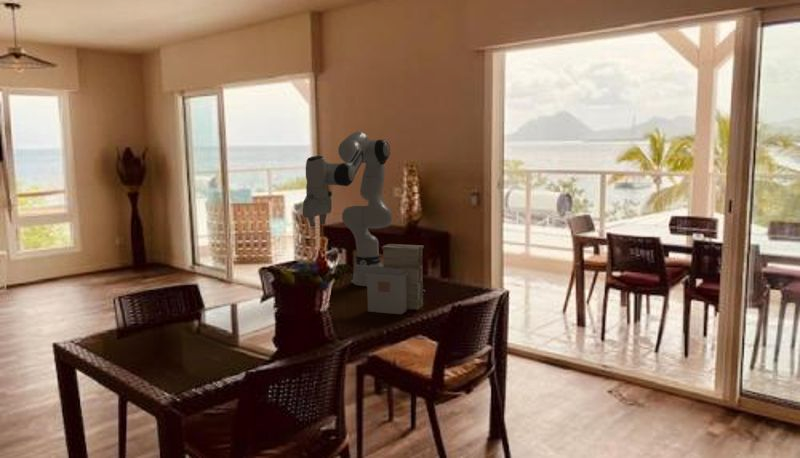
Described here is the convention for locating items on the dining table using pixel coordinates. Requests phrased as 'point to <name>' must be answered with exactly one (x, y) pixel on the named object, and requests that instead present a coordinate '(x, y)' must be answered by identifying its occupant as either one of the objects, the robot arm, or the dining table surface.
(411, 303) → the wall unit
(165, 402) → the dining table surface
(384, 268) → the bar
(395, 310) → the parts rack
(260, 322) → the dining table surface
